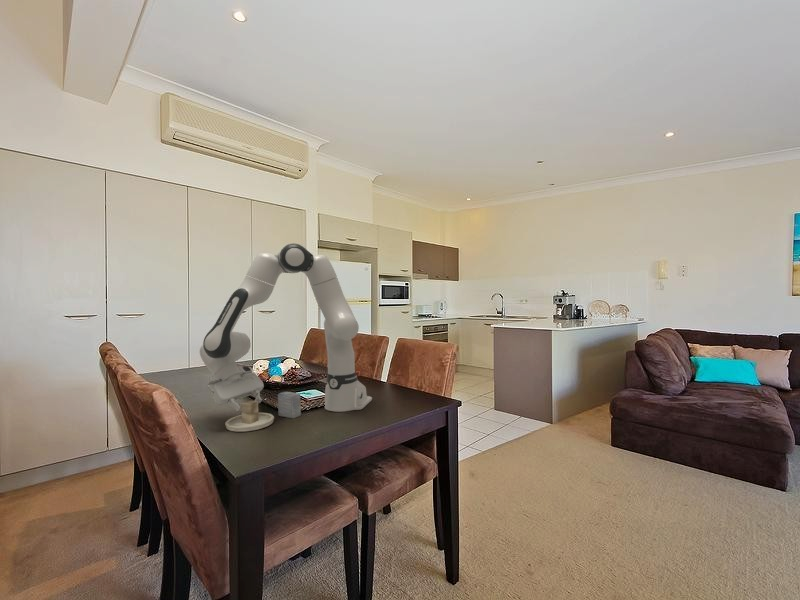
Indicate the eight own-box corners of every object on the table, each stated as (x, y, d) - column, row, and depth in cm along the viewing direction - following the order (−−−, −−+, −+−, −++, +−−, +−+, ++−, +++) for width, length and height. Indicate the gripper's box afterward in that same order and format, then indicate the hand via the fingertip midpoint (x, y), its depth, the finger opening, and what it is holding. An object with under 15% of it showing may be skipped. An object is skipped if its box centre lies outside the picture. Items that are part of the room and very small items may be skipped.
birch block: (250, 419, 142) (249, 400, 142) (258, 420, 140) (258, 401, 140) (241, 422, 138) (241, 403, 138) (250, 424, 137) (249, 404, 136)
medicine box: (301, 415, 148) (300, 393, 148) (292, 419, 144) (292, 396, 144) (286, 412, 152) (286, 391, 152) (277, 416, 148) (277, 393, 148)
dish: (250, 415, 150) (250, 410, 150) (282, 420, 143) (282, 415, 143) (215, 428, 135) (215, 424, 135) (249, 435, 129) (249, 430, 129)
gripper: (209, 377, 132) (231, 408, 129) (254, 366, 151) (274, 393, 147) (200, 389, 134) (221, 420, 131) (246, 376, 153) (265, 403, 149)
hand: (250, 405), depth 139 cm, fingers open, 8 cm apart
